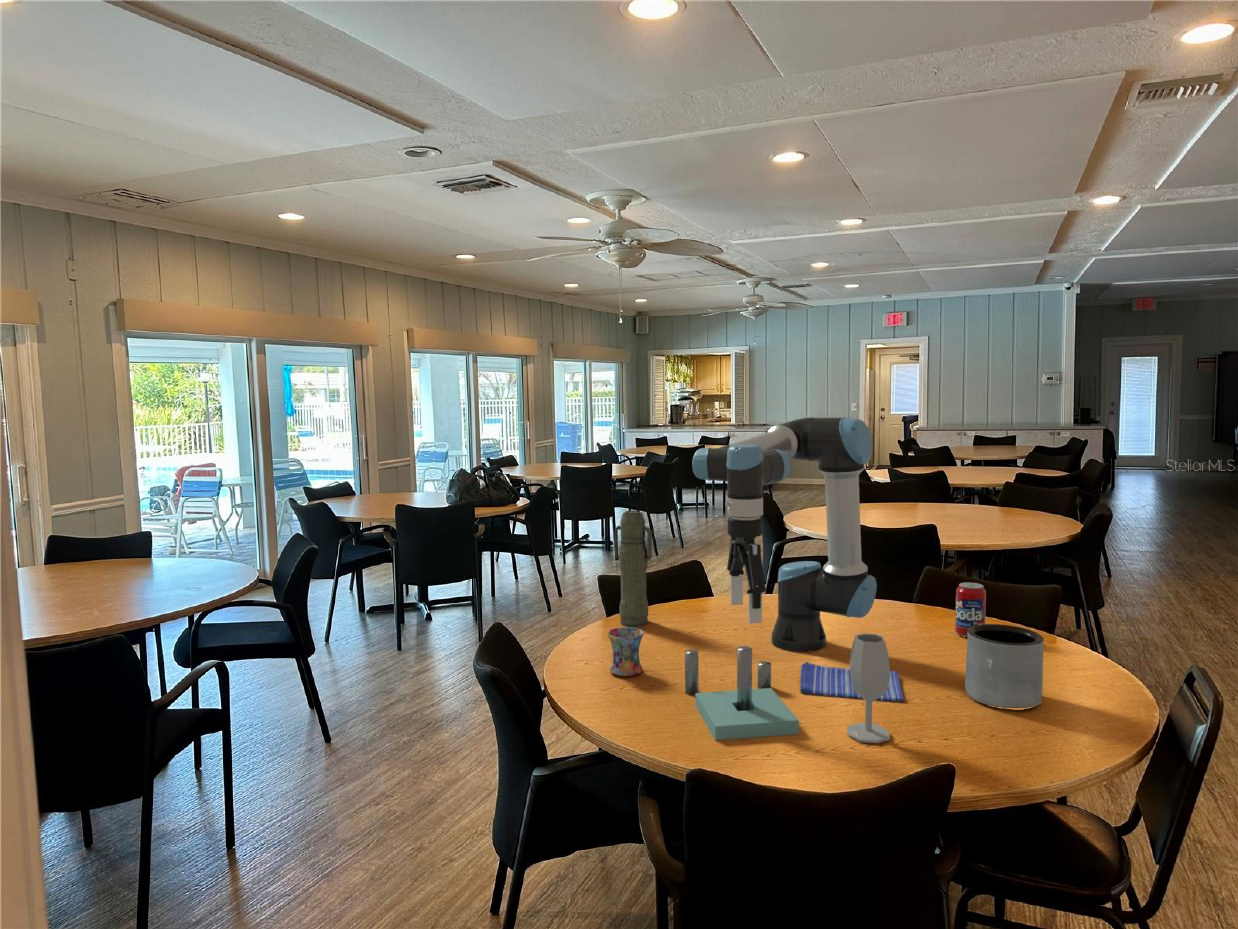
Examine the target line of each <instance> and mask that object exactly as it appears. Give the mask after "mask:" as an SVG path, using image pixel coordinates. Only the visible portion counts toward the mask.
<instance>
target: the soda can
mask: <svg viewBox="0 0 1238 929" xmlns="http://www.w3.org/2000/svg"><path fill="white" fill-rule="evenodd" d="M986 605H987V590H985V587H984V585H983V584H980V583H977V582H966V581H965V582H961V583H959V584H958V587H957V588H956V592H955V621H954V622H955V627H954V630H955V633H956V634H957V635H959V636H960V635H962V636H965V637H967V631H968V629H969V628H970V627H973V626H976V625H982V624H986ZM962 636H961V637H962ZM965 637H964V638H965Z"/></svg>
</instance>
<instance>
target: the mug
mask: <svg viewBox="0 0 1238 929" xmlns="http://www.w3.org/2000/svg"><path fill="white" fill-rule="evenodd" d="M644 633H645V632H644V630H643V629H640V628H639V627H629V626H622V627H615V628H611V629H609V630H608V631H607V636H608V638H609V641H610V643H611V648H612V661H611V665H610V667H609V671H610V673H612V674H613V675H615V676H618V677H619V676H620V677H632V676H637V675H639V674H640V673H642V671H643V666H642V663H641V661H640V660H641V659H640V646H641V641H642V638H643V636H644Z"/></svg>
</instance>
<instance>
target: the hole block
mask: <svg viewBox="0 0 1238 929" xmlns="http://www.w3.org/2000/svg"><path fill="white" fill-rule="evenodd" d="M694 696H695V698H694V700H695V703H694V704H695V705H694V706H695V708H696V710H697V711H698V713H699V715H700V717H701V718H702V719H703V722H704V723H705V725H706V726H707V729H708V730H709V731H710V734H711V735H712V737H713V738H714V740H715V741H723V740H724V741H725V740H737V739H738V740H739V739H750V738H751V739H752V738H763V737H764V738H765V737H777V736H790V735H792V736H793V735H799V734H800V721H799V718H798V717H797V716H796V715H795V713H793V712H792V710H791V709H790V708H789V707H788V705H786V703H785V702H784V701H783V700H782V699H781V698H780V697H779V696H778V695H777V693H776V692H775V691H774V690H773V689H772V687H771V688H765V689H759V688H752V710H746V711H737V689H736V690H735V689H734V690H725V691H723V690H722V691H710V692H709V691H708V692H699V693H695V695H694Z"/></svg>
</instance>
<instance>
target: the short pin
mask: <svg viewBox="0 0 1238 929" xmlns="http://www.w3.org/2000/svg"><path fill="white" fill-rule="evenodd" d="M765 688H771V689H772V663H771V662H769V661H763V660H762V661H761V660H760V661H758V662H757V689H765Z"/></svg>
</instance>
